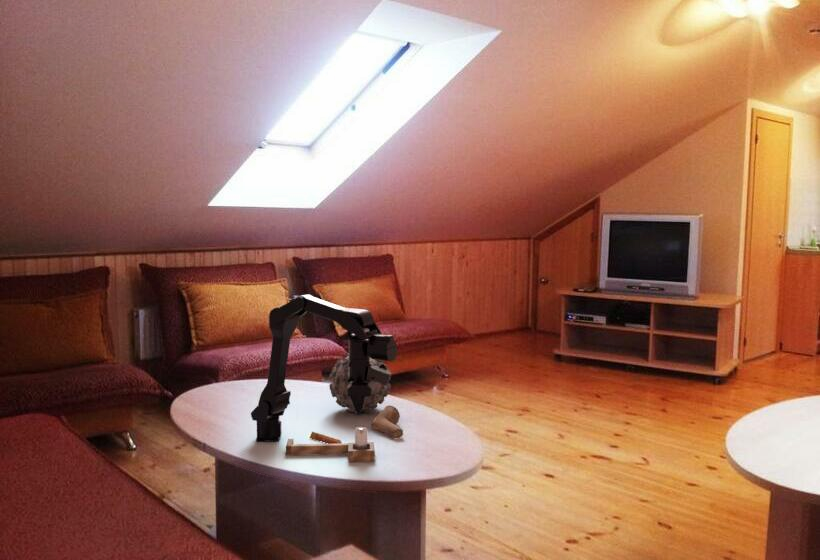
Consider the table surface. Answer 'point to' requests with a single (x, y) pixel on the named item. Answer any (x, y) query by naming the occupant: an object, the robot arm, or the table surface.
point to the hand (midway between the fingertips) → (359, 414)
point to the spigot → (360, 438)
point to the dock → (333, 450)
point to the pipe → (388, 422)
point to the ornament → (341, 382)
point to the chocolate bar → (324, 438)
